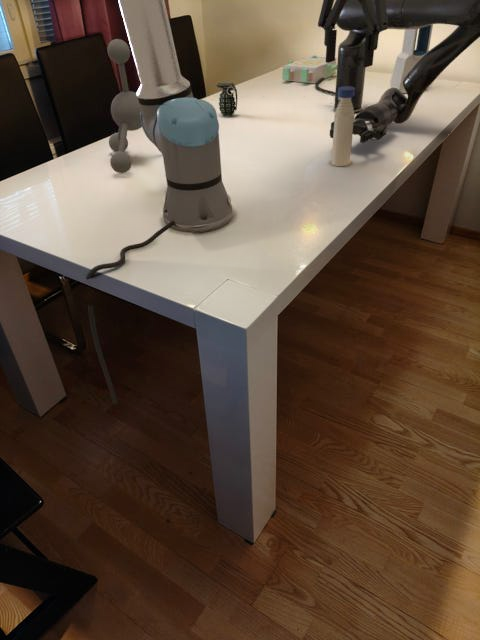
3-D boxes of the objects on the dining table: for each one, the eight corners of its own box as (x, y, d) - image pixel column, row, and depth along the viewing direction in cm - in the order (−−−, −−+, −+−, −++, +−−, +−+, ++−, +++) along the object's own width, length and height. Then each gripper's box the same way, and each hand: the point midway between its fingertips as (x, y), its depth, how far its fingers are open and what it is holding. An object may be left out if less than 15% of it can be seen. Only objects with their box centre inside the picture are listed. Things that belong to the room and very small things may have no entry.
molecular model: (195, 164, 133) (181, 39, 115) (114, 179, 127) (87, 50, 109) (172, 140, 150) (157, 28, 132) (101, 152, 145) (75, 37, 126)
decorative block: (304, 53, 218) (345, 56, 208) (304, 69, 222) (344, 73, 212) (273, 65, 202) (316, 68, 192) (273, 81, 206) (315, 86, 196)
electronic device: (398, 94, 180) (412, -3, 162) (388, 89, 186) (400, -5, 168) (428, 90, 183) (445, -6, 164) (417, 86, 188) (432, -7, 170)
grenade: (217, 117, 168) (214, 86, 162) (221, 112, 172) (219, 82, 166) (235, 117, 166) (233, 86, 160) (239, 113, 171) (238, 82, 165)
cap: (339, 93, 121) (339, 86, 120) (355, 94, 120) (355, 86, 119) (336, 97, 118) (337, 90, 117) (353, 98, 117) (353, 90, 116)
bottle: (332, 159, 132) (337, 87, 121) (351, 160, 130) (357, 87, 119) (329, 165, 128) (334, 92, 117) (348, 166, 127) (355, 92, 116)
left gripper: (304, -53, 106) (301, 61, 119) (396, -57, 92) (381, 72, 106) (325, -55, 110) (320, 56, 123) (416, -59, 96) (399, 66, 110)
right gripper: (350, 102, 137) (322, 117, 127) (399, 109, 130) (373, 125, 120) (348, 130, 142) (321, 146, 132) (395, 137, 135) (370, 155, 125)
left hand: (348, 63), depth 115 cm, fingers open, 10 cm apart
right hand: (346, 136), depth 126 cm, fingers open, 8 cm apart
